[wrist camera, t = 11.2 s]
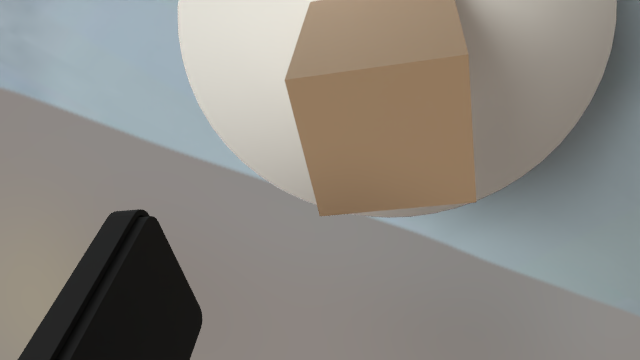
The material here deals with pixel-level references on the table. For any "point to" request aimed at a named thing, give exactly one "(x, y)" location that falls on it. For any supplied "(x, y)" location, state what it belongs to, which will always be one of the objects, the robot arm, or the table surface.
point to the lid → (394, 92)
